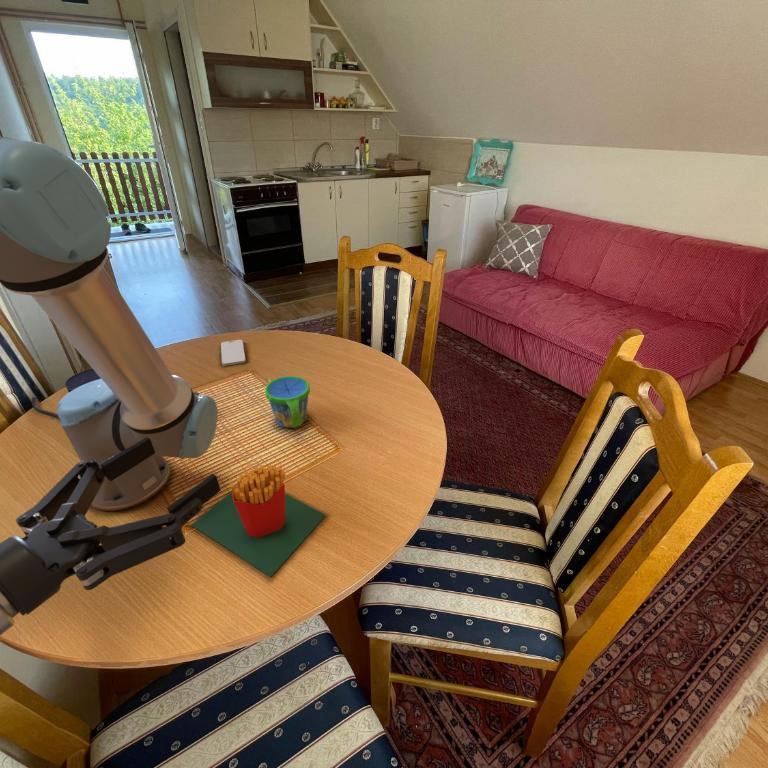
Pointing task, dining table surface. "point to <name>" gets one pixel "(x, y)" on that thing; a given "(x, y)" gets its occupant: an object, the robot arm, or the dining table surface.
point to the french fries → (261, 500)
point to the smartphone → (232, 352)
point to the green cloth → (265, 549)
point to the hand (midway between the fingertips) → (182, 462)
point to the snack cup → (288, 400)
